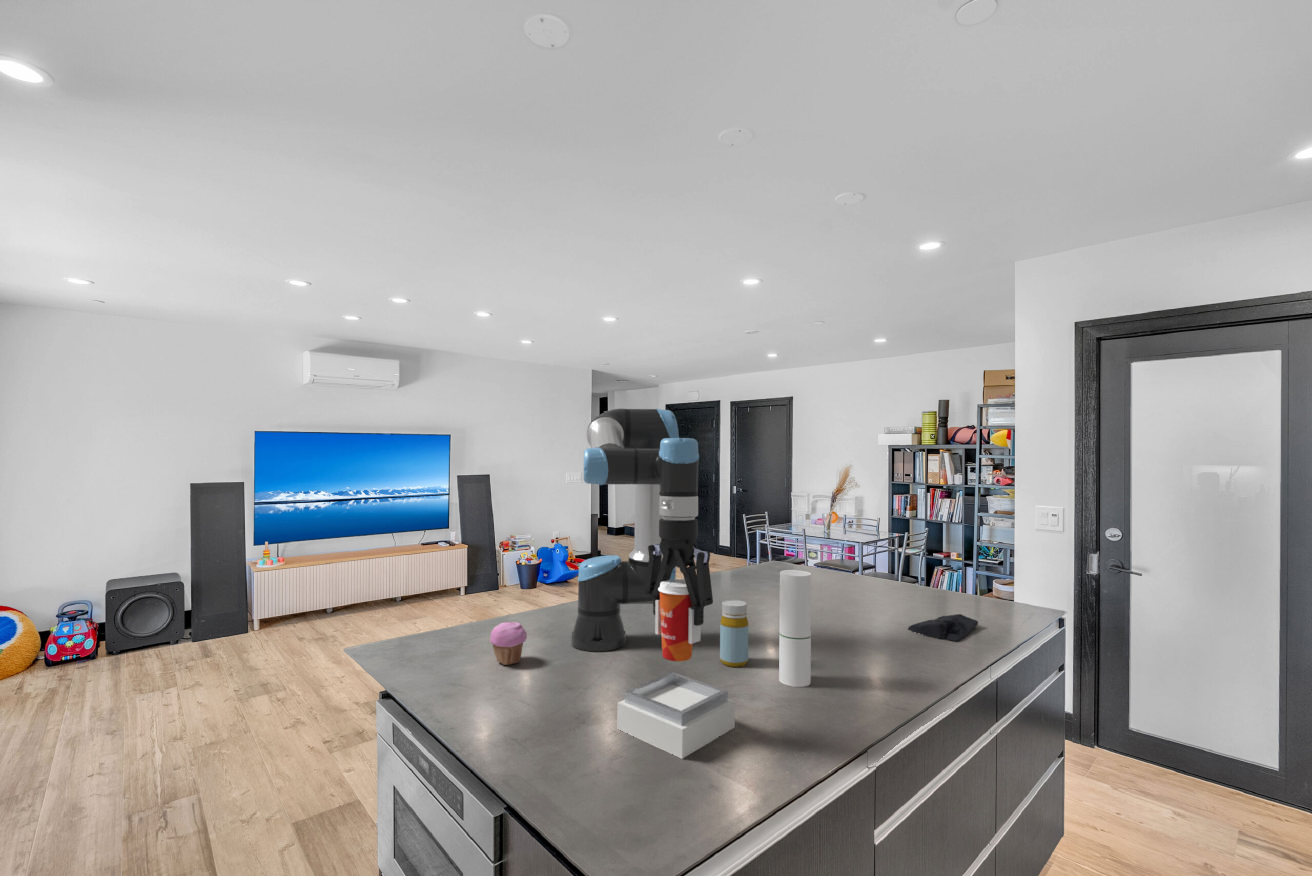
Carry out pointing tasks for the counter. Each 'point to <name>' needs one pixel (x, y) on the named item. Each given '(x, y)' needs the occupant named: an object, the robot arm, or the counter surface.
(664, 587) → the paper cup
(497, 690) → the counter surface
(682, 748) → the square tray
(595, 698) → the counter surface
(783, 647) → the cylindrical container
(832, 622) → the counter surface
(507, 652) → the cupcake
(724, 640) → the bottle
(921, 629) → the crumpled black cloth
